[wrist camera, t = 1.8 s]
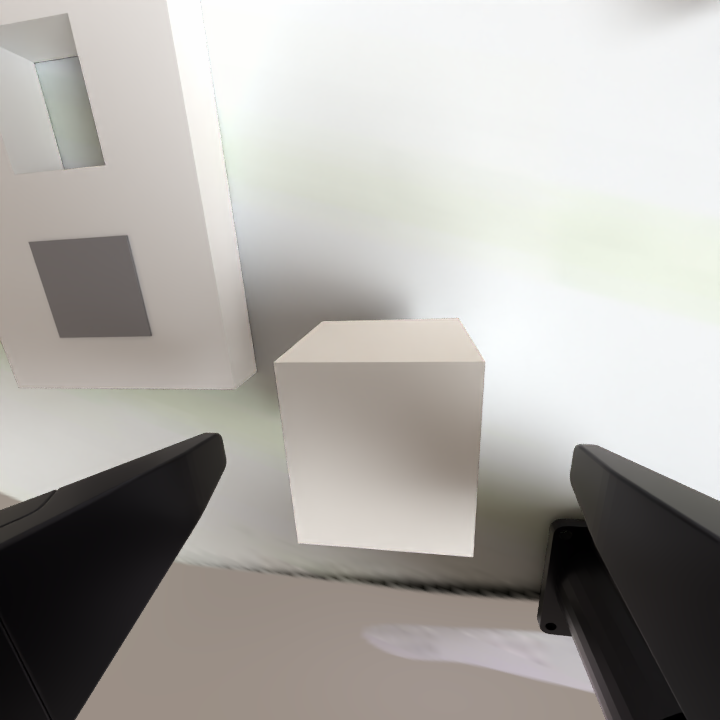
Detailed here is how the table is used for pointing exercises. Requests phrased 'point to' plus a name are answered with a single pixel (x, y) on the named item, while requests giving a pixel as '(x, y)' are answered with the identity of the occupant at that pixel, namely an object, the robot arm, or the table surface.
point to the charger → (384, 434)
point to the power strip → (118, 206)
